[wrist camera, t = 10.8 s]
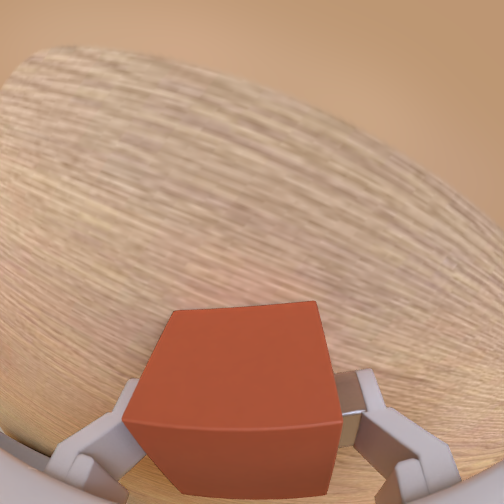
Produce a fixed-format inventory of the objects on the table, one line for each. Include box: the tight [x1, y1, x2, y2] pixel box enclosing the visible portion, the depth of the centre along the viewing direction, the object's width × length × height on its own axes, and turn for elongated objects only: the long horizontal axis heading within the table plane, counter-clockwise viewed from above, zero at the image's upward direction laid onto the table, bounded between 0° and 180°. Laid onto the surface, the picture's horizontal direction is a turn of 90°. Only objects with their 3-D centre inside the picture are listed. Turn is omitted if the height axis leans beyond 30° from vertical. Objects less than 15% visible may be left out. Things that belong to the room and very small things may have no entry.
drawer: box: [0, 432, 50, 472], centre depth 14 cm, size 18×11×8 cm, turn 7°
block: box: [122, 301, 343, 499], centre depth 8 cm, size 4×4×4 cm
